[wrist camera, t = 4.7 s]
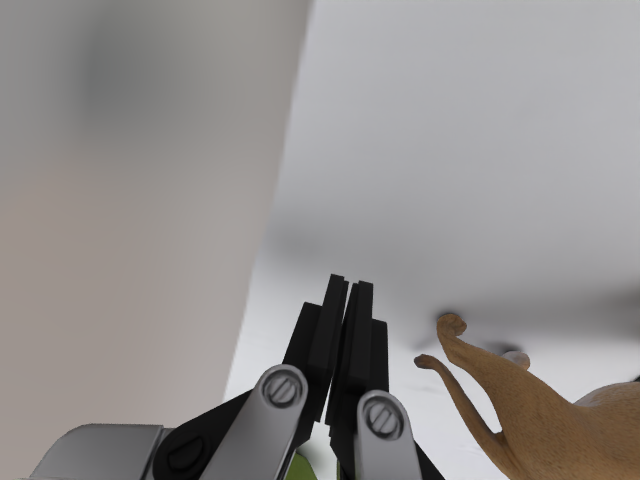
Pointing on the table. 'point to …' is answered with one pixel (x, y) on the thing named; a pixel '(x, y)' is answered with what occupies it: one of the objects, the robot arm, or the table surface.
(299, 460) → the apple
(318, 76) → the table surface
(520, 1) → the table surface
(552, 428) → the lion figurine
